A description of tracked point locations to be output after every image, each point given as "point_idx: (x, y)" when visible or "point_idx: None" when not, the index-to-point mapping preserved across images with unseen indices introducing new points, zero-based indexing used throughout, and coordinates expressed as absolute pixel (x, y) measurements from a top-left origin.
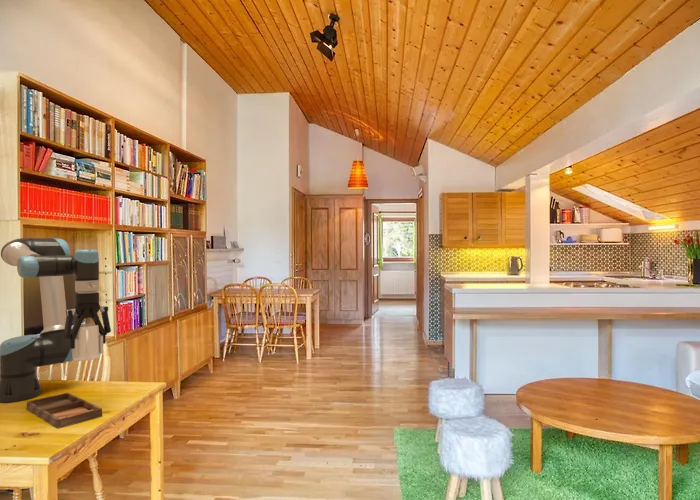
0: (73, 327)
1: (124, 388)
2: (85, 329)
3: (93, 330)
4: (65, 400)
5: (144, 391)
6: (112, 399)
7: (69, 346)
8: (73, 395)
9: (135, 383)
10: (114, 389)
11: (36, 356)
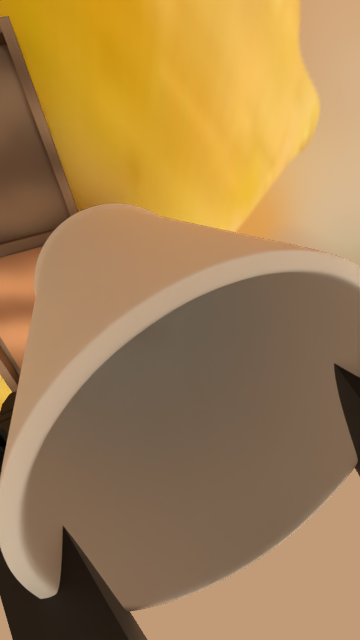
0: (19, 624)
1: (230, 58)
2: (186, 549)
3: (253, 484)
4: (5, 81)
5: (260, 169)
6: (168, 192)
7: (1, 408)
8: (41, 114)
9: (279, 6)
10: (200, 36)
11: None
